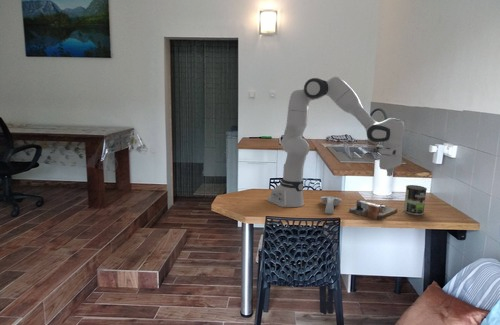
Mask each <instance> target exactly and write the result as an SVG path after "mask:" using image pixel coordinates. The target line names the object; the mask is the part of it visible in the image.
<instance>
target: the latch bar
mask: <svg viewBox="0 0 500 325" xmlns="http://www.w3.org/2000/svg"><path fill="white" fill-rule="evenodd" d="M369 202H370V201H365V200H361V199H358V200H356V206H355V207H359V208H364V209H367V210H368V206H369V205H370V204H372V203H373V202H371V203H369ZM376 204H377V203H375V204H372V205H376ZM376 206H380V205H376ZM386 206H387V205H384V204H383V205H381V206H380V210H379V213H382V214H384V213H386Z"/></svg>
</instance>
